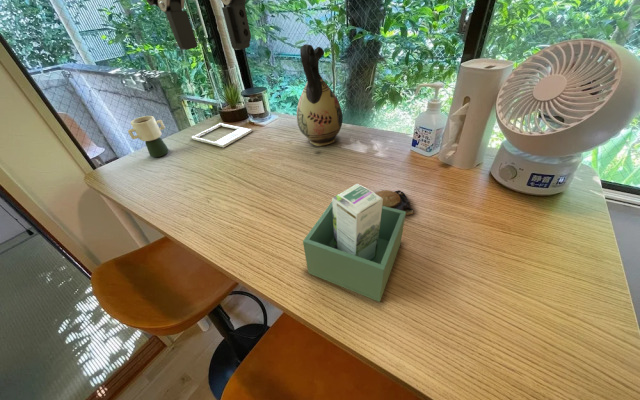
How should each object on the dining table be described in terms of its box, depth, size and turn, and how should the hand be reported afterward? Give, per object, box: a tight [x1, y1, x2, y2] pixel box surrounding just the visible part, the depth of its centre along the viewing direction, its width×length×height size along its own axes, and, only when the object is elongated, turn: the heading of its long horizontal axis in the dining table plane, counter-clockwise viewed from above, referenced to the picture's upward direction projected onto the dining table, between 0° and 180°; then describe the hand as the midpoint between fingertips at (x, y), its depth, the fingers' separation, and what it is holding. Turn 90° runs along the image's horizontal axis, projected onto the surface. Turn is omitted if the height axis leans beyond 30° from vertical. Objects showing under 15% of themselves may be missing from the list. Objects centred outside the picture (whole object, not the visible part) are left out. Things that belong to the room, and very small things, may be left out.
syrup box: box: [331, 183, 383, 261], centre depth 44 cm, size 6×6×14 cm
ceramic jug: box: [296, 43, 344, 147], centre depth 80 cm, size 17×15×30 cm
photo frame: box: [191, 122, 252, 148], centre depth 100 cm, size 15×1×18 cm
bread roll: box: [374, 189, 414, 216], centre depth 59 cm, size 11×8×4 cm
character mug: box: [127, 115, 170, 158], centre depth 88 cm, size 11×7×13 cm, turn 137°
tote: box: [302, 194, 407, 303], centre depth 46 cm, size 14×14×9 cm
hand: (214, 48), depth 30 cm, fingers open, 8 cm apart
